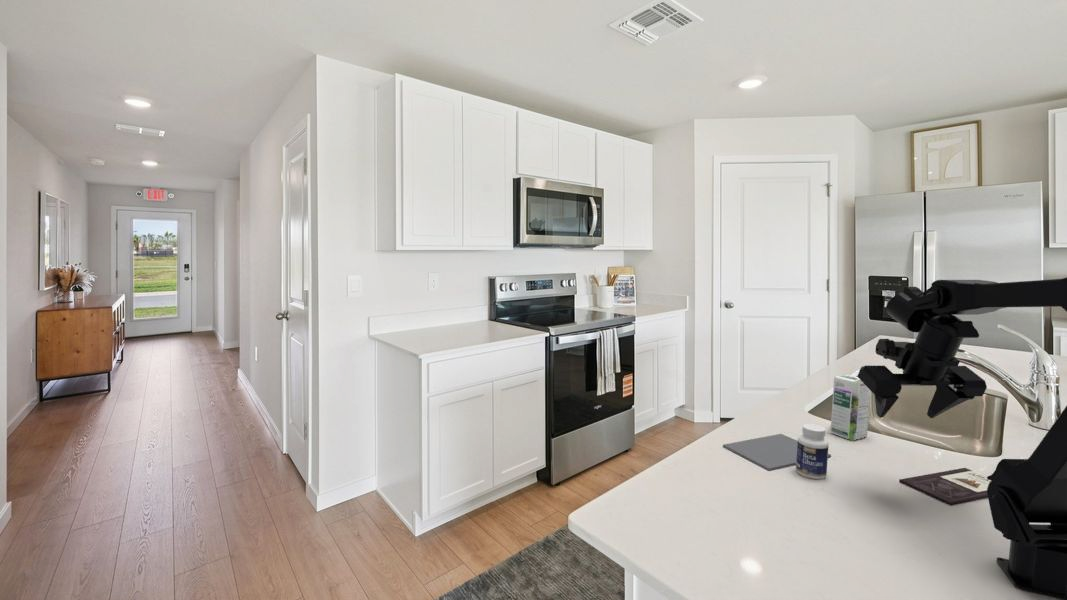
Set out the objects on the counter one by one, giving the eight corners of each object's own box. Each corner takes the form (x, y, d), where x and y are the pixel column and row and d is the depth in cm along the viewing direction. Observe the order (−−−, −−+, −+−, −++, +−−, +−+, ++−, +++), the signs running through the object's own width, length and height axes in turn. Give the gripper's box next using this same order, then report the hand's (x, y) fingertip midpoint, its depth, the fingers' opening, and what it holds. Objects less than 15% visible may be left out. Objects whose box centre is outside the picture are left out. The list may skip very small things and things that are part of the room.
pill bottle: (799, 477, 94) (802, 430, 93) (793, 466, 100) (795, 421, 99) (830, 481, 93) (833, 433, 92) (822, 469, 98) (825, 423, 97)
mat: (830, 457, 104) (831, 454, 104) (769, 470, 97) (769, 468, 97) (780, 435, 116) (780, 433, 116) (722, 446, 109) (722, 444, 109)
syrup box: (829, 433, 117) (832, 376, 116) (844, 429, 120) (847, 373, 118) (852, 441, 112) (857, 381, 111) (868, 437, 115) (872, 378, 113)
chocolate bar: (899, 479, 93) (964, 467, 97) (898, 484, 93) (964, 472, 98) (950, 502, 84) (1019, 488, 89) (950, 508, 84) (1019, 493, 89)
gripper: (956, 323, 88) (925, 389, 96) (853, 323, 89) (831, 389, 96) (1006, 357, 79) (968, 428, 86) (891, 356, 79) (862, 427, 87)
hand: (904, 416), depth 89 cm, fingers open, 9 cm apart
